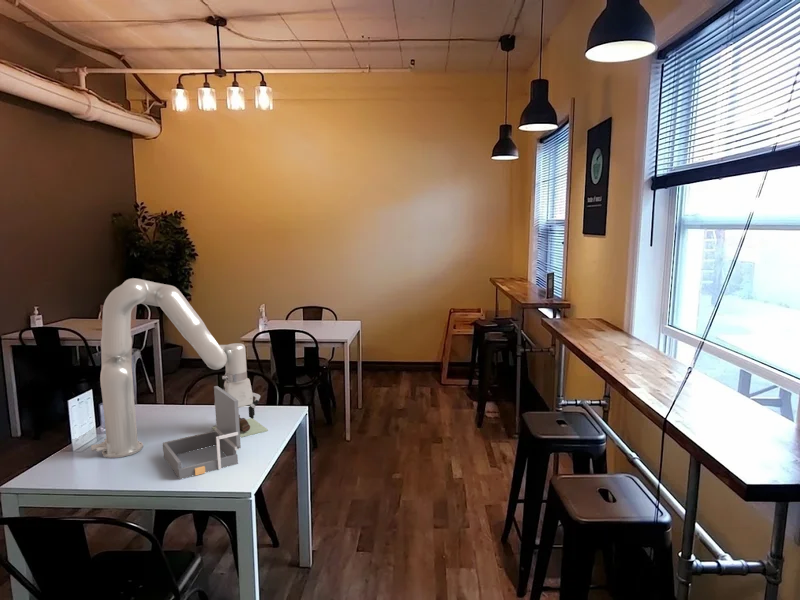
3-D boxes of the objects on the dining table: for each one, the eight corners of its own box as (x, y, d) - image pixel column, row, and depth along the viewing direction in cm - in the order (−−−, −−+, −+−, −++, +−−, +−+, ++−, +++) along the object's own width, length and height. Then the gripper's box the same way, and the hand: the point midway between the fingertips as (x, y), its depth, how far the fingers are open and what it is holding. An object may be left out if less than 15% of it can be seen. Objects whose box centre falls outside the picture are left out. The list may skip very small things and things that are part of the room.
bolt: (244, 438, 197) (229, 426, 209) (255, 429, 199) (240, 417, 211) (236, 427, 194) (221, 415, 206) (247, 418, 197) (232, 406, 208)
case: (180, 480, 162) (175, 413, 159) (163, 456, 179) (158, 396, 176) (242, 463, 173) (238, 400, 170) (220, 442, 190) (217, 385, 188)
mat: (225, 441, 192) (225, 439, 192) (211, 428, 204) (211, 427, 204) (267, 430, 201) (267, 429, 201) (252, 419, 214) (252, 418, 214)
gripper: (216, 382, 192) (219, 428, 194) (262, 374, 202) (264, 418, 204) (210, 378, 198) (213, 422, 200) (255, 370, 208) (257, 413, 210)
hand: (239, 420), depth 202 cm, fingers open, 9 cm apart
